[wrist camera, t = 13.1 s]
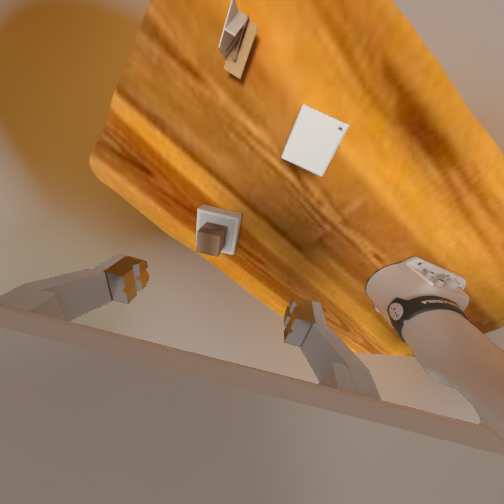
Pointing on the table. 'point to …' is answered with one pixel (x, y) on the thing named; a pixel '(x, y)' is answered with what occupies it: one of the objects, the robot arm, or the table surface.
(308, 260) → the table surface
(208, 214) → the plinth
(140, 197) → the table surface
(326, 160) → the supplement box
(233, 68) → the architectural model
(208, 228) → the walnut block
